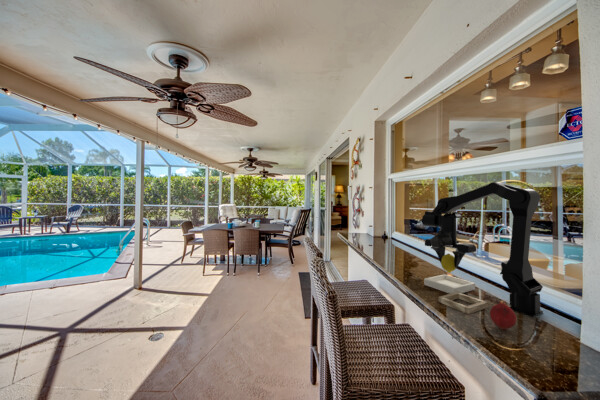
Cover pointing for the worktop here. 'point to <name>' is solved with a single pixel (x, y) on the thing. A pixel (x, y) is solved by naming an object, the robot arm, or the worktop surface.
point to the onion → (503, 315)
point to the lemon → (448, 263)
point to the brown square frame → (469, 309)
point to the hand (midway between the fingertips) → (449, 265)
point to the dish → (449, 284)
